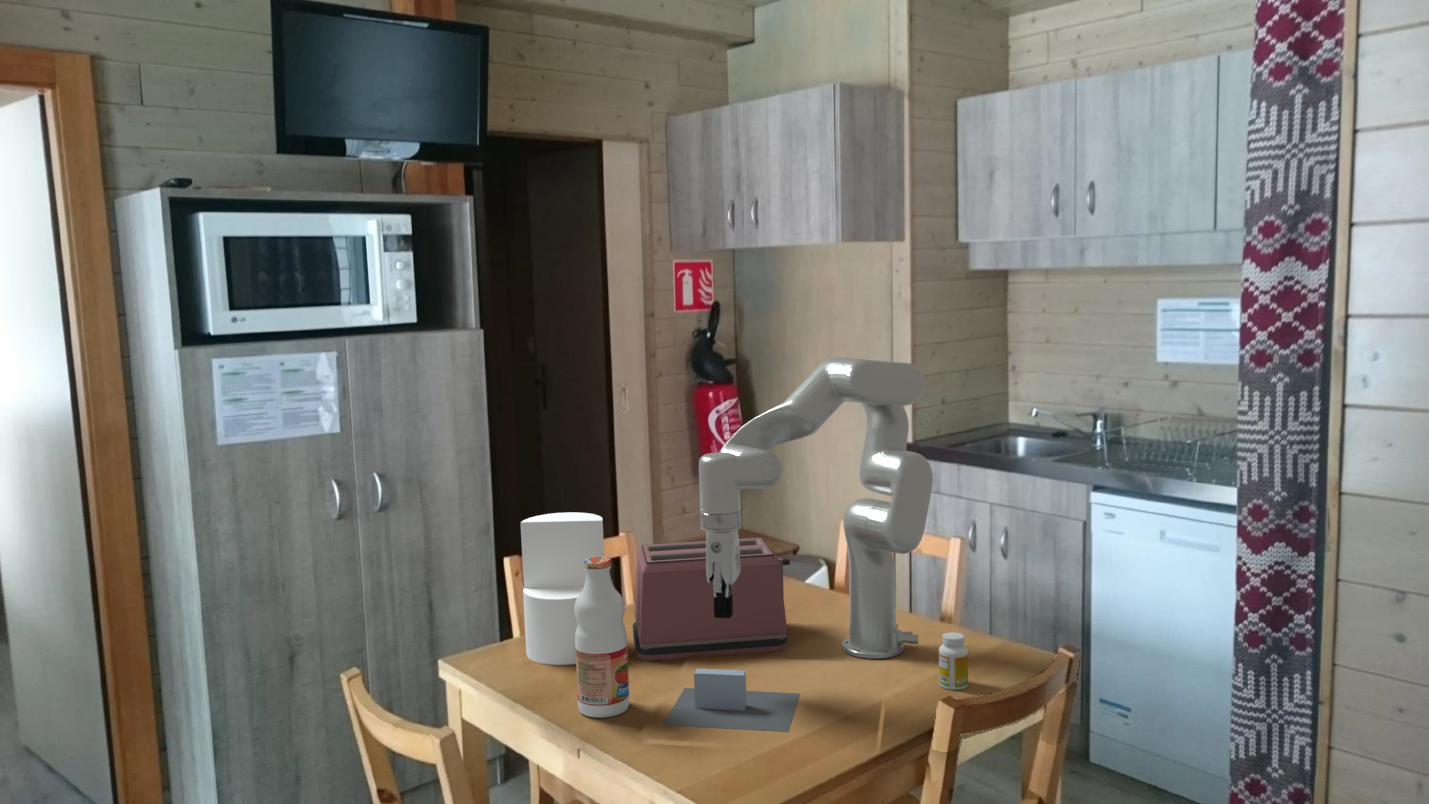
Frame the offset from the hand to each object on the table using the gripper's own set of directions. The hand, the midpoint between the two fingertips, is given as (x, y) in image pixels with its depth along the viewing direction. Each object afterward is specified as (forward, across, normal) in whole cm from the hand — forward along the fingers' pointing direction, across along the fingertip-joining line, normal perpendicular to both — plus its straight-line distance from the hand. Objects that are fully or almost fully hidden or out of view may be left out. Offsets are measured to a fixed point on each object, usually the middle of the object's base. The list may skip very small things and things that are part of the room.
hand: (723, 616), depth 201 cm
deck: (+14, -8, -1) cm, 16 cm away
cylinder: (+15, +20, +38) cm, 45 cm away
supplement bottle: (+15, +10, -42) cm, 46 cm away
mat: (+15, -8, -3) cm, 18 cm away
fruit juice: (+15, -10, +21) cm, 28 cm away
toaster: (+16, +29, +8) cm, 34 cm away
